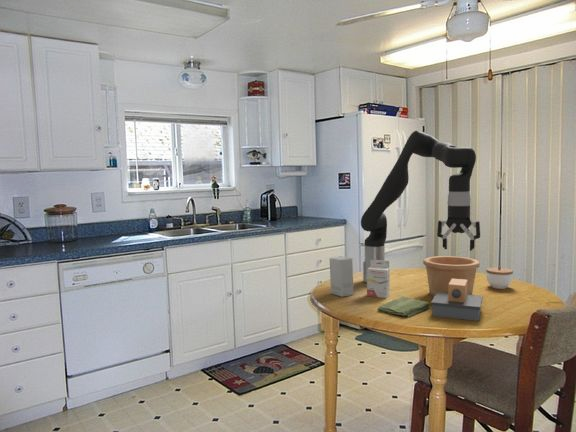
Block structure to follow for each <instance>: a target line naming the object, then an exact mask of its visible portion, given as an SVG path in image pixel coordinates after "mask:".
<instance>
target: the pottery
mask: <svg viewBox="0 0 576 432" xmlns="http://www.w3.org/2000/svg"><path fill="white" fill-rule="evenodd" d="M422 264H423V265H424V266H425V267H426V268H425V269H426V276H427V277H426V278H427V282H428V284H427V285H428V291H429V294H430V295H431V296H432V297H433V298H434V297H435V295H436V293H437V292H447V293H448V284H449V282H450V281H451V279H465V280H468V287H467V294H469V295H473V293H474V292H473V290H474V286H475V285H474V284H475V279H476V273H477V268H480V265H481V264H480V260H477V259H474V258H471V257H464V256H453V255H438V256H437V255H435V256H428V257H426V258H424V259H423V261H422Z"/></svg>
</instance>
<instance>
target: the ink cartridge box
mask: <svg viewBox="0 0 576 432" xmlns="http://www.w3.org/2000/svg"><path fill="white" fill-rule="evenodd" d="M379 262H380V263H383V264H376V263H379ZM390 272H391V269H390V260H385V261H384V260H370V267H369V268H368V269H367V283H366V296H367V297H374V298H381V299H382V298H384V299H388V298H389V296H390V281H391V280H390V279H391V276H390V275H391V274H390Z"/></svg>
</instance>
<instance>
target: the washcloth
mask: <svg viewBox="0 0 576 432" xmlns="http://www.w3.org/2000/svg"><path fill="white" fill-rule="evenodd" d="M430 306H431V303H430V302H427V301H425V300H420V299H415V298H412V297H408V296H402V295H401V296H400V297H399V298H395V299H392V300H390V301H388V302H386V303H383V304H381V305H379V306H378V307H377V311H379V312H384V313H386V314H392V315H396V316H397V315H398V316H401V317H405V318H411V317H413V316H415V315H417V314H419V313H422V312H425V310H428V309H429V308H430Z"/></svg>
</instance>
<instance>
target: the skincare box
mask: <svg viewBox="0 0 576 432" xmlns="http://www.w3.org/2000/svg"><path fill="white" fill-rule="evenodd" d="M353 265H354V264H353V258H351V257H346V256H335V257H333V256H332V257H330V258H329V274H330V275H329V277H330V280H329V281H330V294H331V295H336V296H338V297H341V298H342V297H343V298H344V297H349V296H353V295H354V273H353V272H354V268H353V267H354V266H353Z"/></svg>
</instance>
